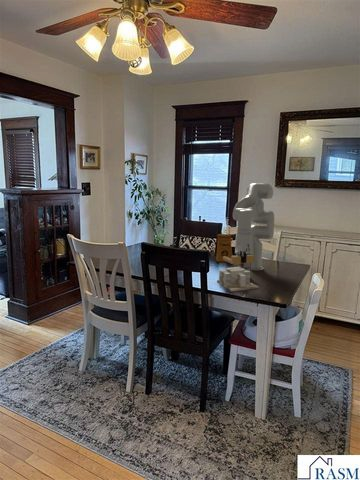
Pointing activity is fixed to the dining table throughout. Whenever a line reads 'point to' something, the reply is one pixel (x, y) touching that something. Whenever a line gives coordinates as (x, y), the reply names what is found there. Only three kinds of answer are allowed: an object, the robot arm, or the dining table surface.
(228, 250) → the coffee package
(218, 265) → the dining table surface
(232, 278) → the white block cluster
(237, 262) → the tan u-shaped bracket
